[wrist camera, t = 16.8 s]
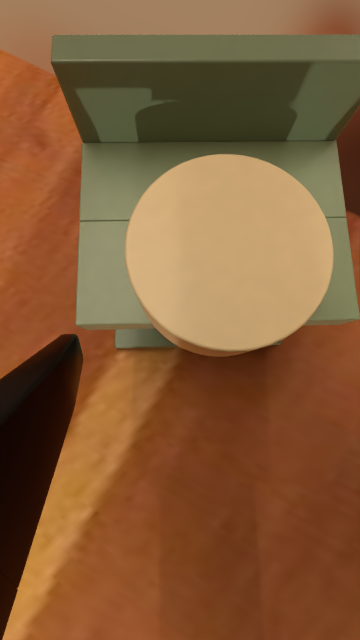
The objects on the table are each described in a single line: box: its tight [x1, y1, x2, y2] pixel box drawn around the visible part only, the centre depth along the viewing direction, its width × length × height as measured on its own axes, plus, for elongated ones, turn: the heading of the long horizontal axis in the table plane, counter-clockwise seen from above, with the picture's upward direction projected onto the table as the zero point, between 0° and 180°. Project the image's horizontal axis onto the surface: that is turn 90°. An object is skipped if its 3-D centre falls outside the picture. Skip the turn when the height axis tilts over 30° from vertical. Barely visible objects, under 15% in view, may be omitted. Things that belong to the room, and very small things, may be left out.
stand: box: [51, 35, 360, 349], centre depth 14 cm, size 8×11×13 cm
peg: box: [125, 154, 333, 357], centre depth 13 cm, size 6×6×10 cm
